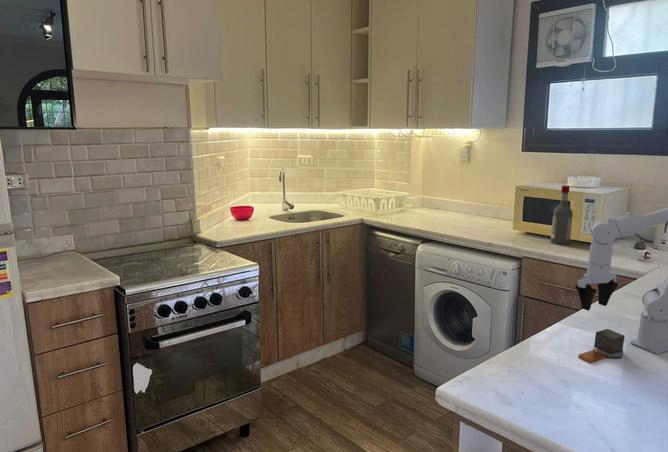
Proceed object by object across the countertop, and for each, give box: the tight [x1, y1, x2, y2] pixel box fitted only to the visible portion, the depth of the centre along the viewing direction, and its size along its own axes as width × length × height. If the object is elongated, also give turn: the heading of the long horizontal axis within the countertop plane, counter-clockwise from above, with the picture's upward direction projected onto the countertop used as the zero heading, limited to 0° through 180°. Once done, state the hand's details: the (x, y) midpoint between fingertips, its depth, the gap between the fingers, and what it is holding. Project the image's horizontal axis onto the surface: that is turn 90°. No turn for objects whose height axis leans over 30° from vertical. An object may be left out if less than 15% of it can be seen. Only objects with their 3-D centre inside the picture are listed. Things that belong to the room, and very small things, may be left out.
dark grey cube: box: [593, 328, 625, 354], centre depth 136 cm, size 5×5×4 cm
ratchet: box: [577, 346, 624, 364], centre depth 135 cm, size 14×7×4 cm, turn 117°
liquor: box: [550, 185, 574, 246], centre depth 257 cm, size 9×9×30 cm
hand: (594, 307), depth 145 cm, fingers open, 7 cm apart
